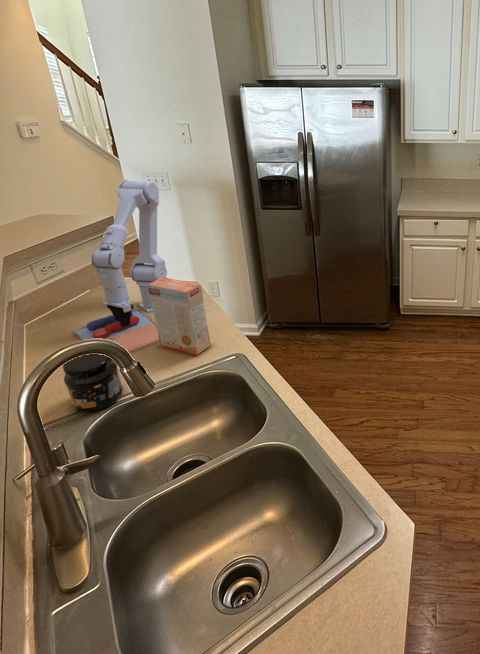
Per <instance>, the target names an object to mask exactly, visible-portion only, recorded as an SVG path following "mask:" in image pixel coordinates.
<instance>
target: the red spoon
mask: <svg viewBox="0 0 480 654" xmlns="http://www.w3.org/2000/svg"><path fill="white" fill-rule="evenodd" d="M138 322H139V318H138V317H137V316H132V317H131V319H130V325H129V326H126V327H122V326H121V324H120V322H119V321H117V322H115V323H112V324H109V325H107V326H106V327H105V328H99V329H97V330H95V331H94V332H93V333H92V334H93V338H103V339H105V338H107V337H109V336H110V335H111V333H113V332H116V331H119V330H121V329H124V328H127V327H130V326H132V325H135V324H137V323H138Z"/></svg>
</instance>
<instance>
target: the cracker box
mask: <svg viewBox="0 0 480 654" xmlns="http://www.w3.org/2000/svg"><path fill="white" fill-rule="evenodd" d="M148 289H149V293H150V298H151V303H152V308H153V311H152V312H153V317H154V320H155V325H156V327H157V332H158V336H159V340H158V341H159V345H160V347H163V348H165V349H170V350H174V351H179V352H182V353H186V354H190V355H195V356H199V355H200V354H201V353H203V352H204V351H206V350H207V349H208V348H210V347H211V340H210V334H209V333H210V332H209V327H208V320H207V315H206V308H205V303H204V295H203V290H202V284H201V283H196V282H190V281H185V280H180V279H175V278H169V277H166V278H165V277H163V278H160V279H158V280H156V281H154V282H152V283H150V284H148Z"/></svg>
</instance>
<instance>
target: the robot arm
mask: <svg viewBox="0 0 480 654" xmlns="http://www.w3.org/2000/svg"><path fill="white" fill-rule="evenodd" d="M117 196H118V198H119V201H118V205H117V209H116V213H115V216H114V219H113V223H112V225H109V226H107V227H106V230H105V233H104V235H103V238H102V240H101V243H100V245H99V247H98V249H96V250H95V251H93V253H92V255H91V261H90V263H91V265H92V266H93V267H94V268H95V269H96V272H97V273H98V274H99V276H100V280H101V283H102V287H103V291H104V295H105V300H103V301H102V305H103V306H105V307H107V309H109V311H110V312H111V313H112V314H113V315H114V317H115V319H116V321H119V322H120V324H121V326H122V327H126V326H129V325H130V319H131V312H133V311H134V310H133V309H134V304H132V303H131V300H130V299H131V298H130V295H129V293H128V288H127V285H126V280H125V275H124V272H123V271H124V270H123V267H122V266H123V264H124V262H125V249H124V248H125V244H126V242H127V240H128V237H129V234H130V233H129V230H128V229H127V227H128V225H129V223H130V221H131V219H132V216H133V215H134V212H135V210H136V208H138V256H136V257H134V259H133V260H132V261H131V262H132V263H131V268H130V271H129V275H130V278H131V280H132V281H133V282H135V283H136V285H138V287H139V293H140V295H141V296H140V297H141V300H142V302H140V303H139V304H138V306H139V307H141V308H142V309H143V310H144V311H146V312H147V313H150V312H153V308H152V303H151V298H150V293H149V289H148V284H150V283H152V282H154V281H156V280H158V279H160V278H163V277H165V278H167V275H168V270H167V267H166V261H165V259H163V258H161V256H159V255H158V206H159V204H160V197H159V196H160V188H159V187H158V185H157V184H156V183H155V182H154V181H152V180H128V179H122V180H121V181H120V182H119V184H118V189H117Z"/></svg>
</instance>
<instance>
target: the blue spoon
mask: <svg viewBox="0 0 480 654" xmlns="http://www.w3.org/2000/svg"><path fill="white" fill-rule="evenodd" d="M132 312H133V311H132ZM132 312H131V317H132V316H133V313H132ZM115 322H117V321H116V319H115V317H114V315H113V313H112V314H110V315H107V316H104V317H100V318H97V319H95V320H92V321H89V322H87V324H86V327H85V328H87V329H88V330H95V329H98V328H101V327H104V326H107V325H109V324H112V323H115Z"/></svg>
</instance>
